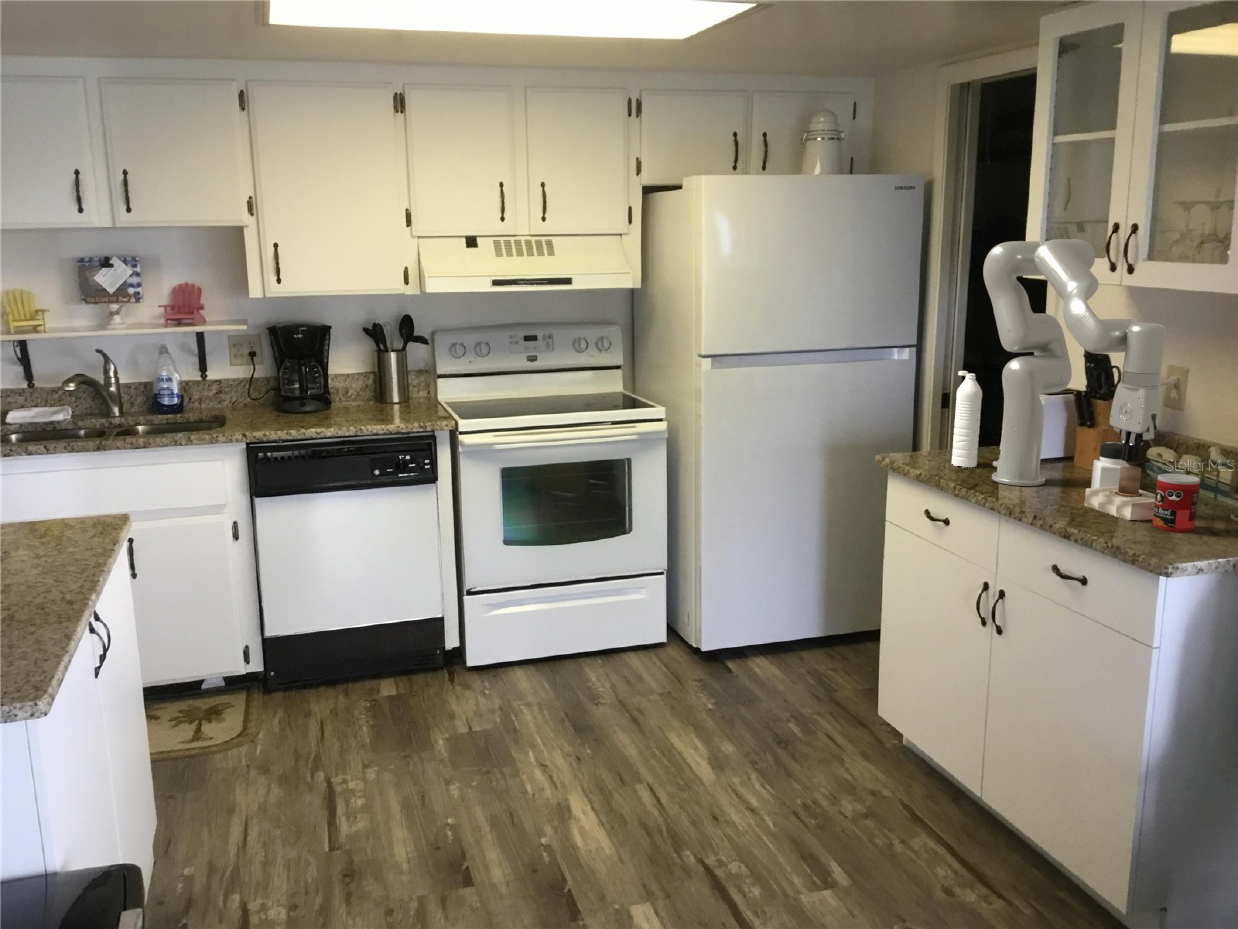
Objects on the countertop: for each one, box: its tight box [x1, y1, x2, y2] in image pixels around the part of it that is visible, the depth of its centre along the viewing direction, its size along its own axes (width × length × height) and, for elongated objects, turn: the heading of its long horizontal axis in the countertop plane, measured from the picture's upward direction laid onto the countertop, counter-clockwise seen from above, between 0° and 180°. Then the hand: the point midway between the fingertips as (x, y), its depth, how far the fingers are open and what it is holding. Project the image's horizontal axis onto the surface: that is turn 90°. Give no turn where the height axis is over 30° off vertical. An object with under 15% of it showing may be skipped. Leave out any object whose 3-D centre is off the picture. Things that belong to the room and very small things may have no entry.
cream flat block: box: [1084, 486, 1156, 521], centre depth 231 cm, size 14×11×4 cm
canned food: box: [1152, 473, 1201, 533], centre depth 218 cm, size 8×8×11 cm
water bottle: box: [951, 370, 983, 469], centre depth 277 cm, size 9×6×25 cm
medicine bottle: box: [1090, 441, 1131, 488], centre depth 248 cm, size 7×7×12 cm
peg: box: [1117, 465, 1142, 497], centre depth 231 cm, size 4×4×10 cm
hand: (1129, 460), depth 230 cm, fingers closed
